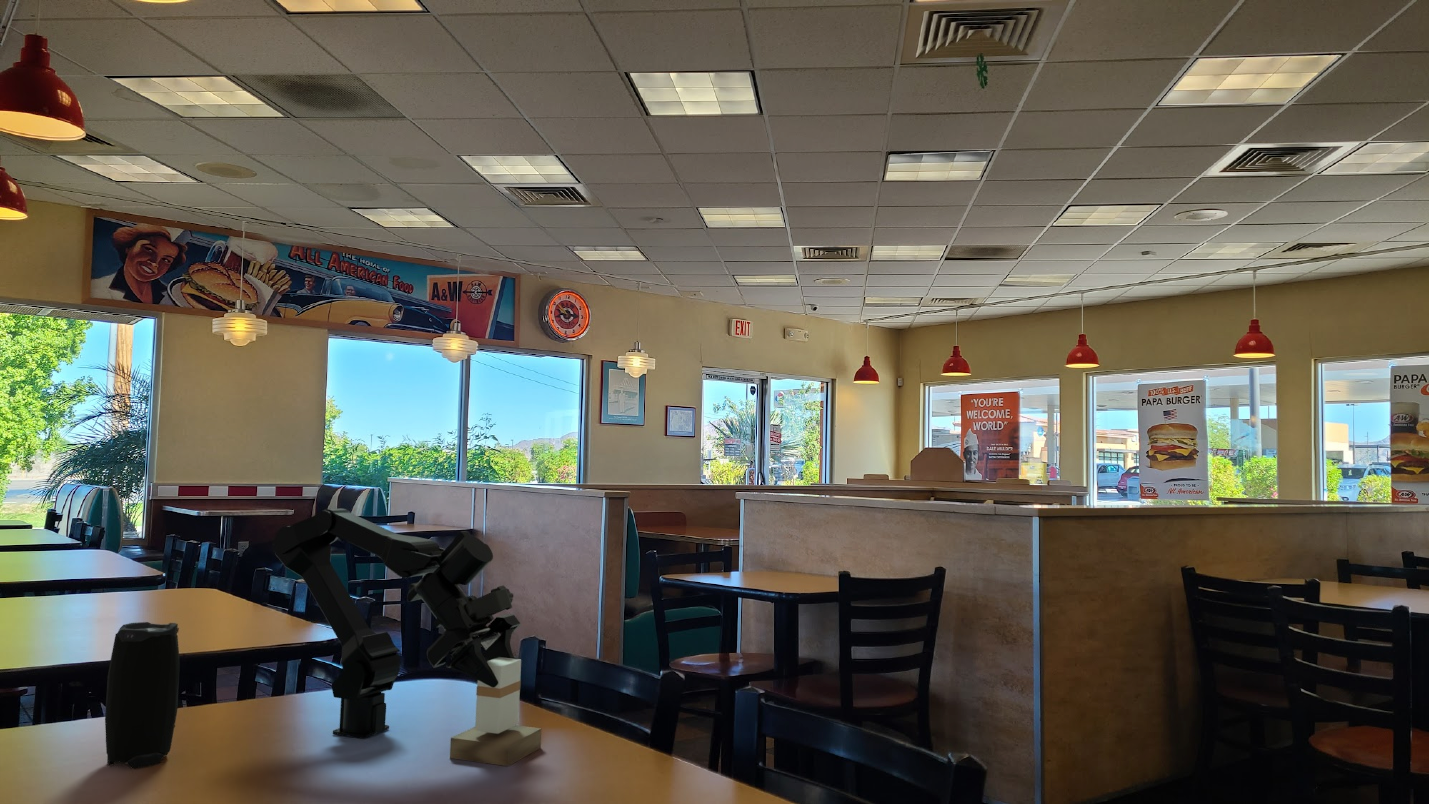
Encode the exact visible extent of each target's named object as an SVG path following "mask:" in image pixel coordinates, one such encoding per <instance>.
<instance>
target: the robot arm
mask: <svg viewBox="0 0 1429 804" xmlns="http://www.w3.org/2000/svg"><path fill="white" fill-rule="evenodd" d="M338 539H341V540H342V541H344V542H348V543H350V544H351V545H353V546H355V547H358V548H360V549H362V550H364V551H366V552H368V553H371V554H372V555H374V556H376V557H378V558H380V559H381V561H382V563H383V564H384V566H385V567H386V568H387V569H389V570H390V571H391V572H392V573H394V574H396V575H397V576H398V577H400V578H412V577H419V576H423V577H422V578H421V579H420V580H419V581H418V582H413V583H410V584H409V585H408V586H409V587H408V589H409V590H408V593H407V596H406V600H407V602H408V603H410V602H414V601H419V600H422V601H423V603H424V604H425V605H426V607H427V608H428V610H429V611H430V612H431V613H432V615H433V616H434V617H435V620H434V621H433V622H432V624H433V626H434V627H435V628H440V627H442V628H443V630H444V632H442V634H441V635H440V636H439V637H438V638H437V639H436V640H435V641H434V642H433V643H432V644H430V646H429V647H428V648H427V650H426V659H427V661H428V662H429V664H430V666H432V668H433V669H435V668H438V667H442V666H443V665H445V664H446V665H445V667H446V668H448V669H450V668H451V669H453V670H455V671H458V672H459V673H463V674H465V675H466V676H469V677H471V678H472V679H475V680H477V681H478V680H479V681H481V682H483V683H485V684H487V685H489V686H490V687H493V688H494V687H496V686H497V685H498V681H497V679H496V677H495V675H494V673H493V671H492V670H491V668H490V666H489V665H488V663H487V661H489V660H492V659H495V658H498V657H503V658H512V659H515V657H514V653H513V650H512V646H511V639H512V635H513V634H514V632H515V631H516V630H517V629H518V627H520V626H521V622H520V620H519V619H518V618H517V616H515V614H504V615H499V616H496V617H494V615H495V614H498V613H501V612H503V611H505V610H506V611H508V610H510V609H513V605H512V602H513V600H514V593H512V592H511V591H510V589H508V588H507V587H506V586H505V585H499V586H497V587H496V588H492V589H491V590H490V592H488V593H487V594H484V595H481V596H480V597H477V596H476V595H472V594H471V595H469V596H468V595H467V594H466V593H465V591H464V590H463V589H462V588H461V586H468V585H470V584H471V583H472V582H473V581H474V580H475V578H477V576H479V574H480V573H482V572H483V570H484V569H485V568H486V567H487V566H489V564H490V563H491V562H492V561H493V559H494V555H493V552H492V549H491V547H490V546H489V545H488V544H487V543H484V542H483V541H482V540H481V539H479V538H478V537H476V536H473V535H472V534H471V532H470V531H469V530H468V531H467V530H464V531H463V530H462V531H459V532H458V533H457V534H456V535H455V536H454V539H453V541H451V542H450V544H449V545H447V547H446V548H442V547H440V545H439V544H438V543H437V542H436V541H435V540H433V539H428V538H423V537H419V536H413V535H403V534H399V533H396V532H394V531H391V530H389V529H386V528H385V527H382V526H381V525H378V524H375V523H373V522H372V521H369V520H367V519H365V518H362V517H360V516H358V515H356V514H354V513H351V511H350V510H349V509H346V508H325V509H323V510H322V511H319V512H318V513H316V514H314V515H313V516H310V517H308V518H305V519H303V520H300V521H298V522H296V523H294V524H291V525H285V526H282V527H281V528H280V529H278V530H277V532H276V533H275V535H274V538H273V541H272V542H273V543H272V550H273V553H274V554H275V556H276V557H277V558H278V559H279V561H280V562H281V563H282V564H283V566H284V568H287V569H288V570H290V571H291V572H293V573H295V574H296V575H298V576H300V577H301V578H302V579H303V581H304V582H305V584H306V586H307V588H308V590H309V591H310V593H311V594H312V597H313V598H314V599H315V601H316V603H317V606H318V607H319V608H320V610H321V612H322V614H323V615H324V617H325V619H326V621H327V622H328V624H329V626H330V627H331V630H332V631H333V632H334V634H335V636H336V638H337V640H338V642H339V643H340V645H341V658H340V659H341V660H340V663H341V666H342V669H343V671H342V672H341V673H340V674H339V676H338V677H336V679H334V681H333V682H332V683H331V691H332V695H333V698H336V699H337V698H338V699H340V711H339V712H340V713H339V727H338V728H336V729H333V730H332V735H339V736H345V737H352V738H353V737H354V738H360V739H364V738H369V737H372V736H374V735H377V734H378V733H381V732H385V731H386V730H388V729H390V725H388V724H386V718H387V716H386V715H387V703H386V702H385V701H386V699H385V696H386V694H385V693H386V691H391V690H392V689H393V687H394V685H395V681H396V678H397V677H398V675H399V674H400V669H401V665H402V661H401V657H400V655H399V652H400V651H401V650H400V648H398V647H397V646H396V645H395V642H393V639H392V636H391V635H390V634H389V633H388V631H383V632H378V633H376V632H374V631H373V630H372V629H371V627H369V625H368V624H367V622H366V620H365V619H364V617H363V616H362V613H361V612H360V610H359V609H358V607H357V606H356V603H355V602H354V600H353V598H352V597H351V595H350V593H349V592H348V589H346V587H345V585H344V583H343V582H342V580H341V579H340V576H339V575H338V573H337V571H336V570H335V568H334V567H333V564H332V562H331V559H332V546H331V545H332V544H333V543H335V542H336V541H338ZM459 585H461V586H459ZM482 648H483V649H484V650H485V651H483V653H482ZM448 655H449V656H448ZM447 656H448V657H449V658H450V660H449V661H448V662H447Z"/></svg>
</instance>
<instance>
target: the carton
mask: <svg viewBox="0 0 1429 804" xmlns="http://www.w3.org/2000/svg"><path fill="white" fill-rule="evenodd" d="M486 661H487V663H488V665H489V666H490V668H491V670H492V671H493V673H494V675H495V677H496V679H497V681H498V685H497V686H496V687H494V688H493V687H490V686H489V685H487V684H485V683H483V682H481V681H479V680H477V686H476V702H475V703H476V704H475V723H474V724H475V725H474V727H475V731H482V732H489V733H497V734H498V733H500V732H502V731H505V730H507V729H509V728H511V727H513V726H515V725H519V717H520V716H519V715H520V714H519V713H520V693H521V683H522V681H521V673H522V672H521V671H522V669H521V668H522V659H520V658H514V659H512V658H503V657H498V658H495V659H492V660H486Z"/></svg>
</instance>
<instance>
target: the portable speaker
mask: <svg viewBox="0 0 1429 804" xmlns="http://www.w3.org/2000/svg"><path fill="white" fill-rule="evenodd" d="M178 624H179V623H176V622H169V623H168V624H165V623H164V624H163V623H162V624H160V623H151V622H148V621H143V622H140V621H139V622H129V623H125V624H122V626H121V627H119V629H118V631H117V633H115V635H114V636H115V637H114V641H113V645H112V646H113V647H112V650H111V655H110V661H109V662H110V663H109V666H108V670H107V671H108V672H107V683H106V685H107V686H106V696H105V697H106V698H105V715H104V724H105V726H104V727H105V748H106V754H107V756H106V757H107V760H106V763H107V766H109V767H111V766H114V765H115V763H122V764H127V765H128V767H130V768H131V769H134V770H136V769H140V768H146V767H149V766H150V767H151V766H153V765H158V764H160V763H161V762H162V760H164V757H165V756H167V755H168V754H169V752H170V751H171V748H172V742H173V737H174V731H175V728H176V720H177V713H178V708H179V705H178V703H179V685H180V684H179V683H180V666H181V662H180V651H179V650H180V649H179V637H178V633H179V631H180V630H179V629H180V627H178V626H179V625H178Z"/></svg>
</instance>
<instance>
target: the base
mask: <svg viewBox="0 0 1429 804" xmlns="http://www.w3.org/2000/svg"><path fill="white" fill-rule="evenodd" d="M449 745H450V746H449V747H450V749H449V759H455V760H462V761H467V762H468V761H469V762H477V763H483V764H490V765H496V766H497V765H498V766H504V767H509V766H511V765H512V764H514V763H516V762H518V761H520V760H521V759H523V758H525V757H527V756H528V755H530V754H532V753H534V752H536V751H538V750H540V749H541V747H542V728H541V727H533V726H532V727H531V726H524V725H519V724H517V725H515V726H513V727H511V728H509V729H507V730H505V731H502V732H500V733H498V734H497V733H489V732H482V731H475V726H473V727H472V728H470V729H467V730H465V731H464V730H463V732H460V733H458V734H456V735H453V736H451V737H450V744H449Z"/></svg>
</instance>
